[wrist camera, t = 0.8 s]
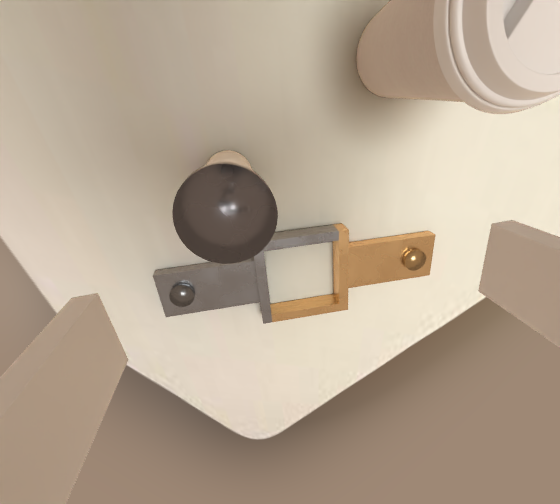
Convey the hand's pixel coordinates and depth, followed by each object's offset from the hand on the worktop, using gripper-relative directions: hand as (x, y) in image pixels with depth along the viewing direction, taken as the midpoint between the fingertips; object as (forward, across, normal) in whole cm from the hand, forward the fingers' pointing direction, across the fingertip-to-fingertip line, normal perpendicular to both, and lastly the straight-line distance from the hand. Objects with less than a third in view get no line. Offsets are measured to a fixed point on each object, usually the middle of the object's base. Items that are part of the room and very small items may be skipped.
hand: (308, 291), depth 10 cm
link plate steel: (+20, -3, -10) cm, 22 cm away
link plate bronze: (+20, +8, -10) cm, 24 cm away
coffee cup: (+20, +13, +9) cm, 25 cm away
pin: (+20, -3, +1) cm, 20 cm away
